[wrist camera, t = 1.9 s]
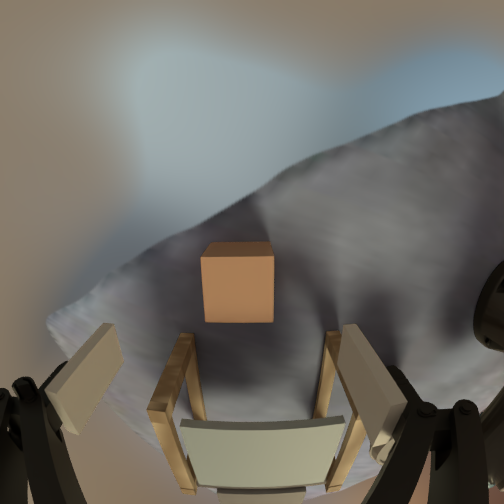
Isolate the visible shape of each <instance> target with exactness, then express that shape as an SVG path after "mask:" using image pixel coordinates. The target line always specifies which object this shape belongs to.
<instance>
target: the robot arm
mask: <svg viewBox="0 0 504 504" xmlns="http://www.w3.org/2000/svg"><path fill="white" fill-rule="evenodd" d="M474 334H475V337H476V339H477V340H478V341H479V342H480V343H481V344H483V345H484V346H485V347H487V348H489V349H493V350H496V351H500V352H504V261H503V262H502V263H501V264H500V265H499V266H498V267H497V268H496V269H495V270H494V271H493V273H492V274H491V276H490V277H489V279H488V281H487V283H486V284H485V286H484V288H483V291H482V293H481V295H480V298H479V301H478V304H477V307H476V311H475V316H474ZM123 362H124V360H123V356H122V353H121V349H120V345H119V342H118V338H117V334H116V330H115V326H114V324H110V323H103V324H102V325H101V326H100V327H99V328H98V329H97V330H96V331H95V333H94V334H93V335H92V336H91V337H90V338H89V339H88V340H87V341H86V342H85V343H84V345H83V346H82V347H81V348H80V349H79V350H78V351H77V352H76V353H75V355H74V356H73V357H72V358H71V359H70V360H69V361H65V362H64V363H62V364H61V365H59V366H58V367H57V368H56V369H55V370H54V372H53V373H52V374H51V375H50V377H48V378H47V380H46V381H45V382H44V383H43V384H42V385H41V386H40V388H39V389H37V386H36V384H35V382H34V380H33V379H32V378H31V377H21V378H18V379H17V380H15V381H14V383H13V384H12V388H13V390H14V392H15V394H16V395H17V397H12V396H11V395H10V393H9V391H8V390H7V389H5V388H0V504H28V501H27V500H28V497H27V488H28V486H27V485H28V481H29V485H30V490H31V493H32V497H33V501H34V504H87V502H86V500H85V498H84V495H83V493H82V491H81V488H80V485H79V483H78V480H77V478H76V475H75V472H74V469H73V467H72V463H71V461H70V458H69V454H68V451H67V448H66V444H65V440H64V437H63V433H62V431H61V429H60V427H61V425H62V424H63V425H64V426H65V428H66V429H67V431H68V432H71V433H74V434H77V435H80V434H81V432H82V430H83V428H84V427H85V425H86V423H87V422H88V420H89V418H90V416H91V414H92V413H93V411H94V410H95V408H96V406H97V405H98V403H99V401H100V399H101V398H102V396H103V395H104V393H105V391H106V390H107V388H108V386H109V385H110V383H111V382H112V380H113V378H114V377H115V375H116V373H117V372H118V370H119V369H120V367H121V366H122V364H123ZM337 365H338V367H339V369H340V372H341V374H342V376H343V379H344V381H345V383H346V386H347V388H348V390H349V392H350V395H351V397H352V399H353V402H354V404H355V406H356V409H357V411H358V414H359V416H360V418H361V421H362V423H363V426H364V428H365V430H366V433H367V435H368V438H369V440H370V443H371V445H372V447H375V446H379V445H383V444H387V443H388V442H389V440H390V438H391V436H392V437H393V439H394V441H395V442H394V444H393V446H392V448H391V449H390V451H389V453H388V456H387V458H386V460H385V462H384V464H383V466H382V468H381V470H380V472H379V474H378V476H377V478H376V479H375V481H374V483H373V485H372V486H371V488H370V490H369V492H368V493H367V495H366V496H365V498H364V500H363V502H362V503H361V504H408V503H409V501H410V499H411V497H412V494H413V492H414V490H415V487H416V485H417V482H418V480H419V477H420V474H421V472H422V469H423V467H424V464H425V461H426V458H427V455H428V452H429V451H431V471H430V484H429V494H428V502H427V504H489V488H490V487H493V486H494V485H496V486H497V487H498V489H499V490H500V491H504V386H503V388H502V389H501V390H500V392H499V393H498V394H497V396H496V397H495V398H494V400H493V401H492V402H491V403H490V404H489V406H488V407H487V408H486V409H485V410H484V412H481V414H480V415H479V411H478V408H477V406H476V404H474V403H473V402H472V401H470V400H465V399H463V400H459V401H457V402H456V403H455V405H454V406H453V408H452V409H437V407H436V406H435V405H433V404H432V403H429V402H423V401H422V400H421V398H420V397H419V395H418V394H417V392H416V391H415V389H414V388H413V387H412V385H411V384H410V383H409V381H408V379H407V378H406V377H405V375H404V374H403V372H402V371H401V370H400V369H398V368H397V367H395V366H394V365H393V366H387V367H385V366H384V364H383V363H382V361H381V360H380V358H379V357H378V355H377V354H376V352H375V351H374V349H373V348H372V346H371V345H370V343H369V342H368V340H367V339H366V338H365V336H364V335H363V333H362V332H361V330H360V329H359V327H358V326H357V325H356V324H347V325H343V331H342V337H341V344H340V350H339V356H338V361H337ZM7 427H8V428H9V431H7Z"/></svg>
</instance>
